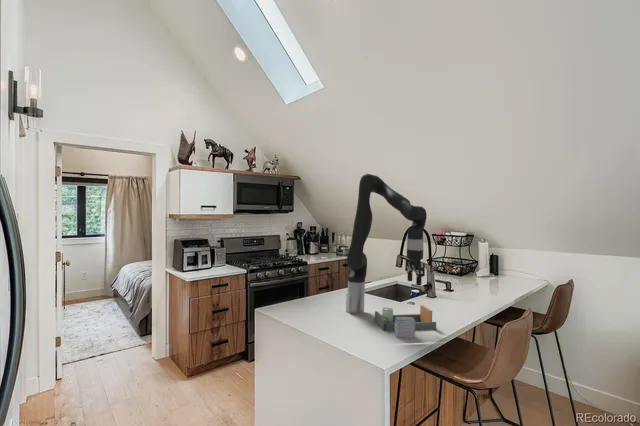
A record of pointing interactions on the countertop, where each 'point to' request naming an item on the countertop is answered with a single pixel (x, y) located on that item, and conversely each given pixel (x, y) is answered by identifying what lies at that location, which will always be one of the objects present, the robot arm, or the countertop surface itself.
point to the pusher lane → (391, 326)
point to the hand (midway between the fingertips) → (414, 283)
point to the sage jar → (388, 314)
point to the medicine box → (404, 327)
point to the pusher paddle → (425, 314)
